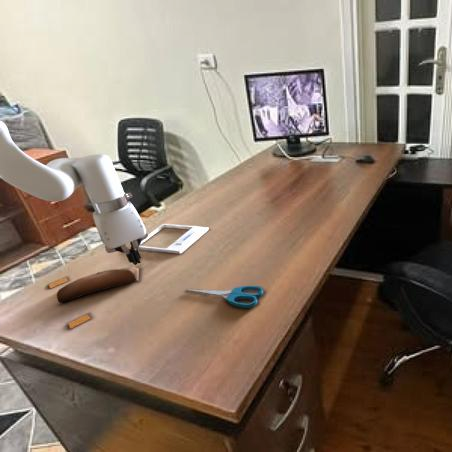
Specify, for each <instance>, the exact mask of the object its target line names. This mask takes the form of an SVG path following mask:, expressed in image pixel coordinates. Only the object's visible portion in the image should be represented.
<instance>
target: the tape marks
mask: <svg viewBox="0 0 452 452" xmlns="http://www.w3.org/2000/svg"><path fill="white" fill-rule="evenodd" d="M67 282H68V279H67V278H66V277H63V278H61V279H59V280H56V281H54V282H52V283H50V284H48V287H49V288H50V289H53V288H56V287H57V286H59V285H62V284H65V283H67ZM90 320H91V318H90V316H89V315H88V314H85V315H82V316H81V317H78V318H76V319H74V320H72V321H70V322H68V327H69V329H70V330H72V329H74V328H76V327H77V326H79V325H82V324H83V323H86V322H88V321H90Z"/></svg>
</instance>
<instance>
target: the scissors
mask: <svg viewBox="0 0 452 452" xmlns="http://www.w3.org/2000/svg"><path fill="white" fill-rule="evenodd" d="M186 290H187V292H191V293H197V294H205V295H210V296H216V297H221V298H223V299H225V300H226V302H227V303H229V305H233V306H235V307H237V308H244V309H251V308H253V307H255V306H257V304H258V299H259V298H260V297H262V296H263V295H264V290H263V287H262V286H259V285H244V286H243V285H242V286H238V287H234V288H233V289H229V290H215V289H214V290H213V289H211V290H210V289H194V288H193V289H192V288H191V289H190V288H187V289H186ZM244 291H259V292H257V293H247V292H244ZM238 300H251V301H252V302H249V303H244V302H238Z"/></svg>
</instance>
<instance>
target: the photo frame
mask: <svg viewBox="0 0 452 452" xmlns="http://www.w3.org/2000/svg"><path fill="white" fill-rule="evenodd" d="M164 228H169V229H170V228H172V229H183V230H188V231H186V232H185V233H184V234H183V235H181V236H180V237H179V238H177V239H176V240H175V241H174V242H173V243H171V244H170V245H169V246H167V247H157V246H156V247H155V246H145V245H142V244H144V242H146V241H147V240H149V239H150V238H151V237H153V236H154V235H155V234H157V233H159V232H160V231H162V229H164ZM209 229H210V228H209V227H208V226H196V225H187V224H186V225H184V224H172V223H162V224H161V225H160V226H158V227H157V228H155V229H154V230H152V231H150V232H149V233H147V234H148V235H149V236H148V237H147V238H146V239H145V240H143V241H142V242H141V244H140V246H139V249H138V250H142V251H152V252H160V253H169V254H182V253H184V251H186V250H187V249H188V248H189V247H190V246H192V244H194V243H195V242H197V240H199V239H200V238H201V237H202V236H203V235H204V234H206V233H207V232H208V231H209Z"/></svg>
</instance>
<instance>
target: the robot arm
mask: <svg viewBox="0 0 452 452" xmlns="http://www.w3.org/2000/svg"><path fill="white" fill-rule="evenodd" d="M0 179H1V180H3V181H4V182H6V183H7V184H9V185H11V186H13V187H14V188H17V189H18V190H21V191H22V192H24V193H26V194H28V195H30V196H32V197H35V198H37V199H40V200H43V201H46V202H55V203H57V202H62V201H65V200H66V199H68V198H69V197H70V196H71V195H72V194H73V193H74V192H75V191H76V190H77V189H78V188H79V187H81V186H83V187H84V189H85V191H86V195H87V196H88V198H89V200H90V202H91V205H92V207H93V209H94V211H93V212H92V218H93V221H94V225H95V227H96V231H97V233H98V235H99V238H100V240H101V242H102V244H103V245H104V247H105V252H106V253H107V254H113V253H116V252H118V253H121V254H125V256H126V259H127V261H128V263H129V264H131V263H132V264H133V265H134V266H137V265H138V264H141V263H142V262H141V259H142V256H141V253H140V251H139V250H140V249H139V246H141V245H142V244H141V242H142V241H143V240H145V239H146V238H147V237H148V236H149V235H148V234H149V233H147V230H146V227H145V225H144V223H143V220H142V219H141V217H140V215H139V213H138V211H137V209H136V208H135V207H134V205H133V204H132V202H131V201H129V199H132V198H133V194H132V192H125V191H124V188H123V186H122V184H121V181H120V179H119V176H118V173H117V171H116V169H115V166H114V163H113V162H112V159H111V158H110V157H109V156H108V155H107V154H104V153H96V154H90V155H85V156H83V157H61V158H60V157H59V158H55V159H53V160H50V161H49V162H48V163H47V164H43V163H42V162H39V161H38V160H37V159H35V158H33V157H31V156H29V155H28V154H26V153H25V152H24V151H23V150H21V149H20V148H19V146H17V144H16V143H15V142H14V141H13V139H12V137H11V134H10V132H9V128H8V126H7V125H6V124H5V122H3V121H2V120H0ZM127 244H130V248H128V247H127Z"/></svg>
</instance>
